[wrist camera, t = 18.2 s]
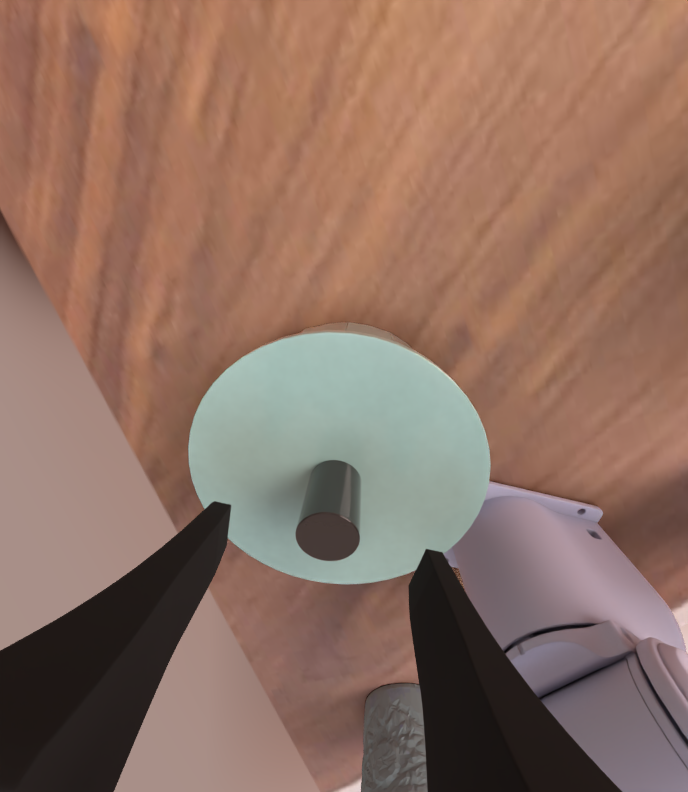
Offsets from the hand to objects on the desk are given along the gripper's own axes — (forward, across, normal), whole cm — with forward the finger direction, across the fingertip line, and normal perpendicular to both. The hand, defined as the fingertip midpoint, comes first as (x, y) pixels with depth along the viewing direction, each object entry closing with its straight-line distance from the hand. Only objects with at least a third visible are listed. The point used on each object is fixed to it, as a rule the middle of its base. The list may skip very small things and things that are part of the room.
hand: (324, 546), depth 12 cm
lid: (+4, 0, 0) cm, 4 cm away
